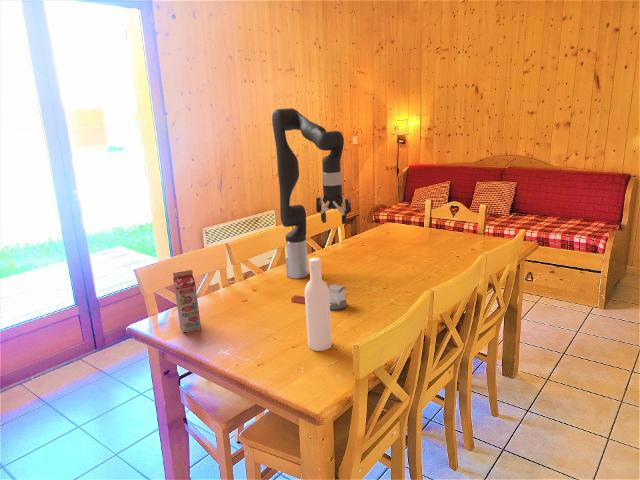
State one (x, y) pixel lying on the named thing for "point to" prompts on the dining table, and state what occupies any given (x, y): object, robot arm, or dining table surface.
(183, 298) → the juice carton
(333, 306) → the ratchet
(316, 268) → the bottle
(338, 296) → the socket
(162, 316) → the dining table surface
